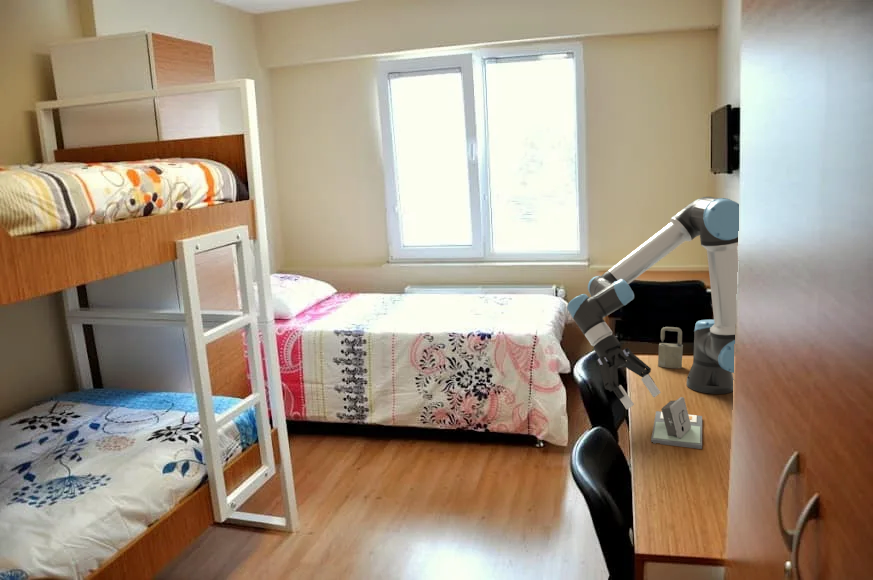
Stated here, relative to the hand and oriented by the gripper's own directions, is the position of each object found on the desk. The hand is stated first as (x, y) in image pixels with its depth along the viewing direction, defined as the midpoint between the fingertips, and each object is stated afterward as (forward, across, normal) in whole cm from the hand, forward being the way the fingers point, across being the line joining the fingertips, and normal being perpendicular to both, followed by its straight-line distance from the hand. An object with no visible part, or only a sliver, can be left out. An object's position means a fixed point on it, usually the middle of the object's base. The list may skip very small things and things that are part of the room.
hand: (644, 401), depth 195 cm
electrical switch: (+12, +1, +3) cm, 12 cm away
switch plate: (+12, -3, +1) cm, 12 cm away
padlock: (-11, -55, -24) cm, 61 cm away
